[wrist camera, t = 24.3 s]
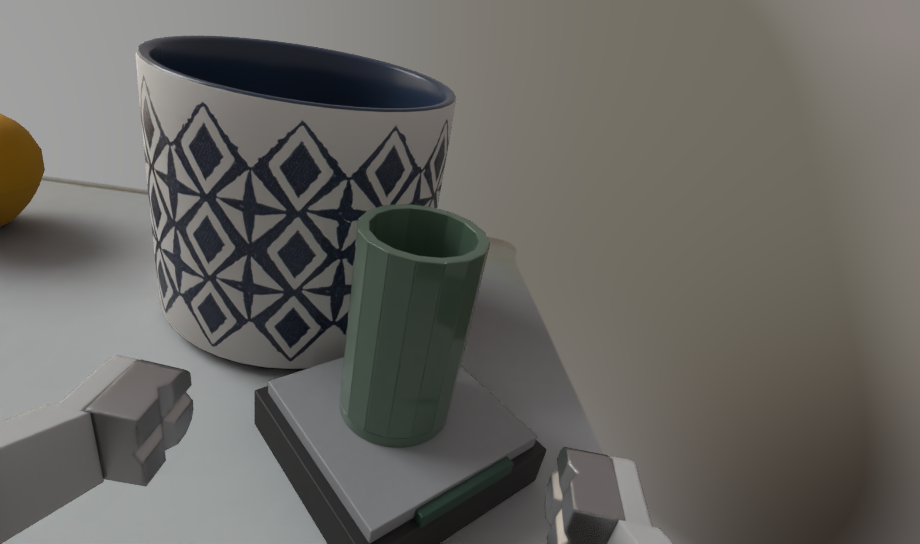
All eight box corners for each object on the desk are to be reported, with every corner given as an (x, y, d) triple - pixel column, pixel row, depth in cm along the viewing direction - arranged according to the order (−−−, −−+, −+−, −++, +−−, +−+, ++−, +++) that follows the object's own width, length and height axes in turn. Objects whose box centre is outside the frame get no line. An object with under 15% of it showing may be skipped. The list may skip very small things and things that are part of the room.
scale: (535, 480, 29) (551, 438, 27) (359, 596, 22) (367, 549, 20) (417, 363, 35) (425, 324, 34) (254, 423, 28) (254, 378, 27)
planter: (218, 227, 46) (211, 25, 39) (422, 258, 49) (454, 73, 41) (102, 356, 31) (51, 58, 23) (413, 393, 33) (462, 132, 25)
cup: (430, 463, 24) (473, 277, 20) (318, 425, 25) (334, 237, 20) (459, 387, 29) (499, 224, 24) (365, 358, 30) (386, 194, 25)
